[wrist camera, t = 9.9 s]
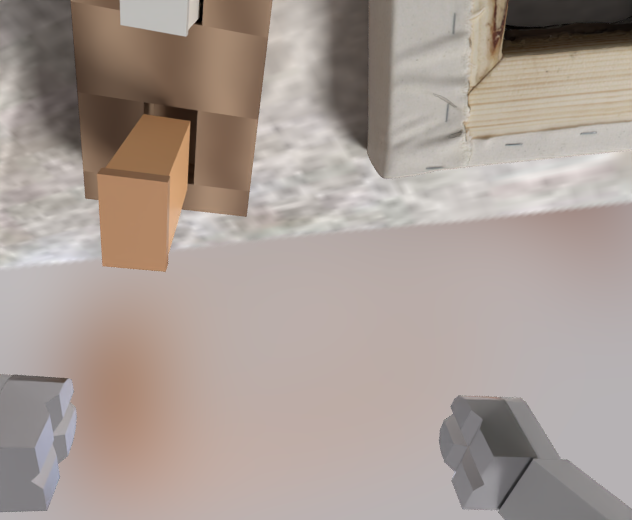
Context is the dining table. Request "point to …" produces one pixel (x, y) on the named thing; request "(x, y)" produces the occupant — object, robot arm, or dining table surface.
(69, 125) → the dining table surface
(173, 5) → the cream plug
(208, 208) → the block
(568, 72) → the pale hollow square block
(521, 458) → the robot arm
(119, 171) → the orange plug
